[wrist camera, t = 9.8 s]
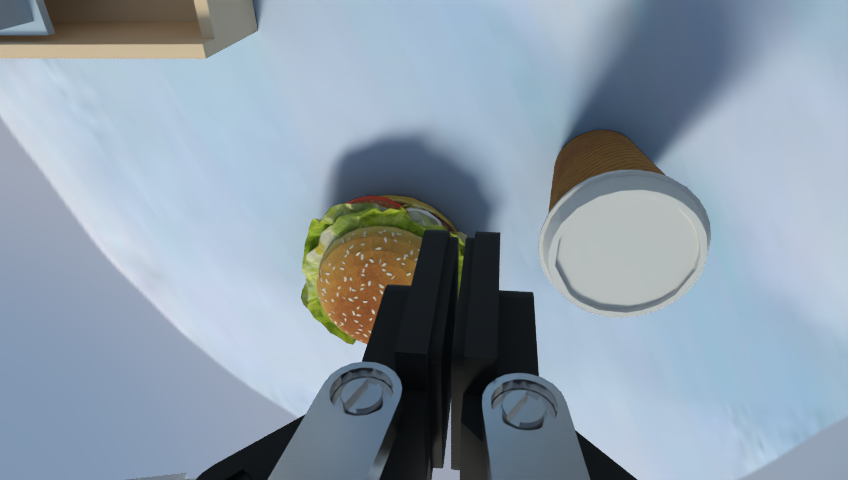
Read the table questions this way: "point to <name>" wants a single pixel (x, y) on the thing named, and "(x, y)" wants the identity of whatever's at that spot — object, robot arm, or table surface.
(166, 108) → the table surface
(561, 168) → the disposable coffee cup
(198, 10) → the mailer box
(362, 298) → the food
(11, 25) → the lid
